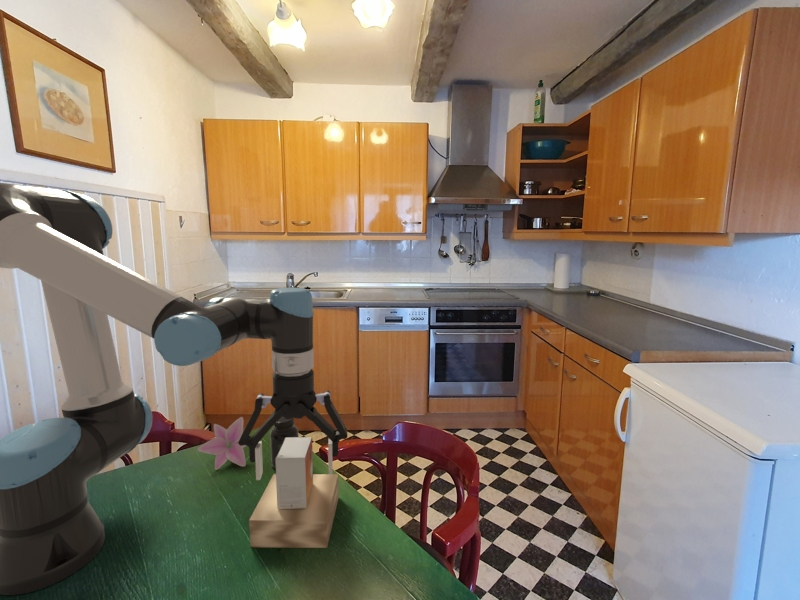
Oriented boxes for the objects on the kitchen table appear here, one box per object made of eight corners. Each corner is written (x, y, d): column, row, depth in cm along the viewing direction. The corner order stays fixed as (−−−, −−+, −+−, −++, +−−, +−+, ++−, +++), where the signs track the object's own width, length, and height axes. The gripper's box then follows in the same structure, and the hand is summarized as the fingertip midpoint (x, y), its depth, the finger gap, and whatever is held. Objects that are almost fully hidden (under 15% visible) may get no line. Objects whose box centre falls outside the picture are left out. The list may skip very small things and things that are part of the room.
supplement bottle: (304, 458, 100) (303, 414, 98) (290, 473, 94) (288, 426, 92) (281, 453, 102) (279, 410, 100) (265, 468, 96) (263, 422, 94)
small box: (306, 509, 73) (305, 458, 72) (276, 510, 73) (274, 458, 71) (313, 483, 81) (312, 436, 80) (286, 483, 81) (285, 436, 79)
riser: (250, 549, 71) (249, 520, 70) (274, 499, 85) (273, 473, 84) (327, 550, 71) (326, 520, 70) (338, 499, 85) (338, 474, 84)
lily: (192, 469, 96) (191, 447, 91) (219, 431, 106) (220, 409, 101) (238, 485, 97) (240, 463, 91) (261, 445, 106) (263, 424, 101)
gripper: (217, 379, 68) (223, 490, 71) (360, 374, 72) (360, 479, 75) (228, 365, 75) (233, 467, 78) (358, 361, 79) (357, 458, 82)
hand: (295, 473), depth 77 cm, fingers open, 13 cm apart
